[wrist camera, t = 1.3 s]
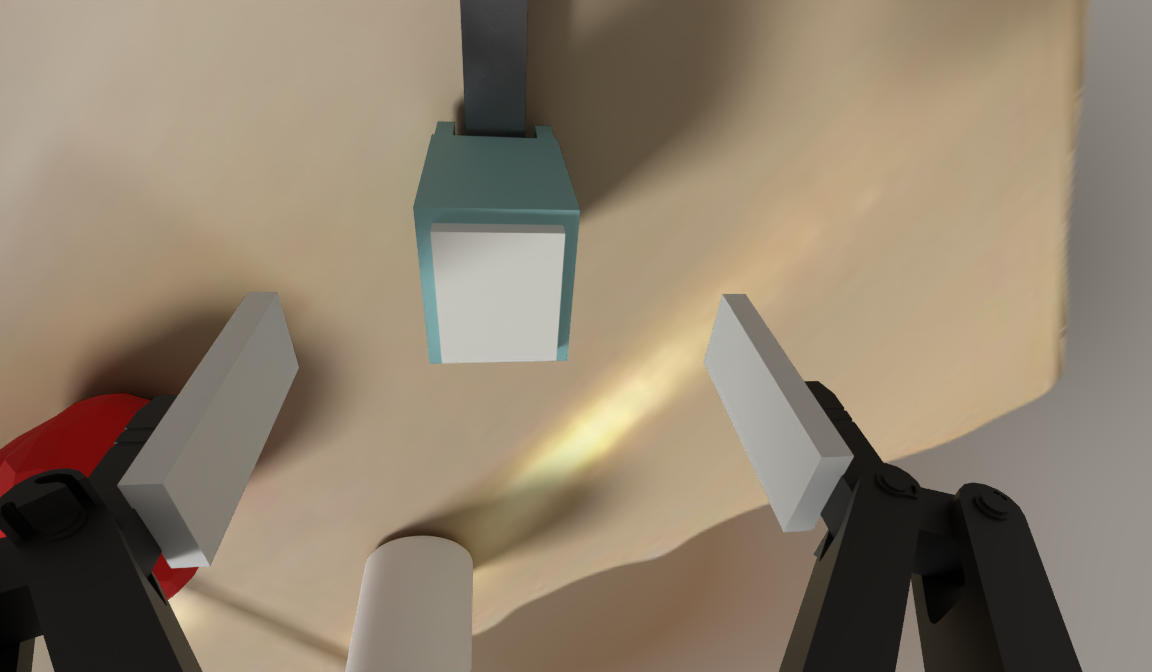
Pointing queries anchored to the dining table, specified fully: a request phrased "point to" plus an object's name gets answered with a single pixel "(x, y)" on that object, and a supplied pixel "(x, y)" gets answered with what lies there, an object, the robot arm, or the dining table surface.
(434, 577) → the beverage can
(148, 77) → the dining table surface
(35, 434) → the tomato
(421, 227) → the block
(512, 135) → the rail
